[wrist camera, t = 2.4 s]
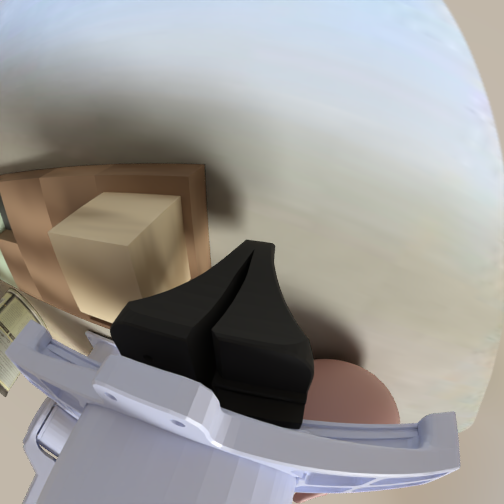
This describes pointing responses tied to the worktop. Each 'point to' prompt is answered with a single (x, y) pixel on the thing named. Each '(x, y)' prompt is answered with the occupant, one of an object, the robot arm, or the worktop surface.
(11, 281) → the board
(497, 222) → the worktop surface
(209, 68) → the worktop surface
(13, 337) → the coffee can
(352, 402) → the pink mushroom
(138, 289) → the block
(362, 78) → the worktop surface
